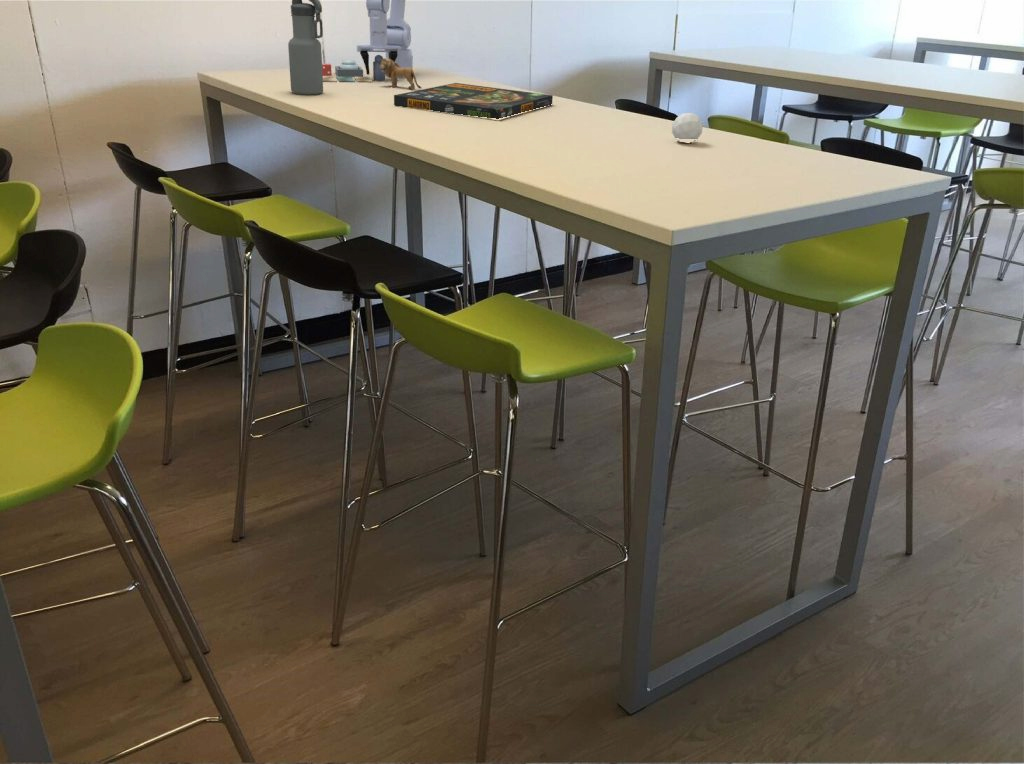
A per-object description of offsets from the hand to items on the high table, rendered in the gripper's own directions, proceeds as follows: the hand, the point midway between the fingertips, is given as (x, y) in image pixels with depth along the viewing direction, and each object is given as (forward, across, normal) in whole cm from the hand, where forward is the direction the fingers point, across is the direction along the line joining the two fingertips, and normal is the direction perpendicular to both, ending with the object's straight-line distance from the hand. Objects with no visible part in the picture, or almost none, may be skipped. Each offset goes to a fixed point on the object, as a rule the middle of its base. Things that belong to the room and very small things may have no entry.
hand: (379, 74), depth 304 cm
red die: (+2, -17, +12) cm, 21 cm away
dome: (+2, -9, +12) cm, 15 cm away
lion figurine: (+2, +4, -16) cm, 17 cm away
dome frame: (+2, -9, +12) cm, 15 cm away
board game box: (+3, +22, -50) cm, 55 cm away
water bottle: (+2, -26, -28) cm, 38 cm away
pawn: (+2, 0, 0) cm, 2 cm away
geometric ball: (+2, +65, -106) cm, 124 cm away
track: (+2, -12, 0) cm, 12 cm away
